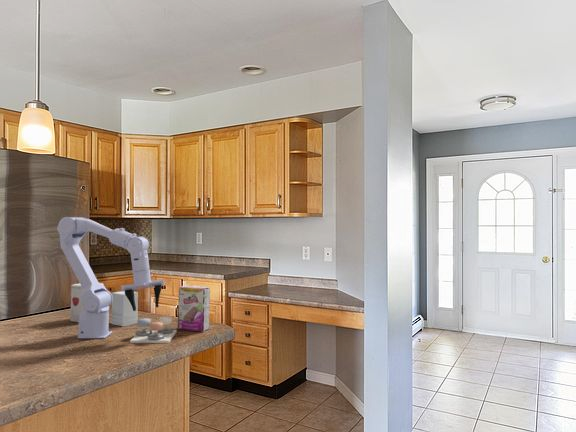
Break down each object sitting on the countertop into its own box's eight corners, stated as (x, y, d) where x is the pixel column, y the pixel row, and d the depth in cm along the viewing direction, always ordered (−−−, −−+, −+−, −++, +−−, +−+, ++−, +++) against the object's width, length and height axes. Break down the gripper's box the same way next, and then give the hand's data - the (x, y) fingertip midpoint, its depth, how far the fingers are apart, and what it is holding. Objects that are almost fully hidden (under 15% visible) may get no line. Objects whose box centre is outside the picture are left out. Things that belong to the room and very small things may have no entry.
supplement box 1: (69, 321, 173) (70, 284, 173) (85, 316, 181) (86, 281, 182) (87, 323, 170) (88, 285, 170) (103, 318, 179) (104, 282, 179)
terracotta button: (147, 330, 146) (148, 324, 146) (151, 327, 151) (151, 321, 151) (161, 330, 146) (161, 324, 146) (164, 327, 151) (164, 321, 151)
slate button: (135, 326, 151) (135, 321, 151) (139, 323, 155) (139, 318, 155) (148, 326, 151) (149, 321, 151) (152, 323, 156) (152, 318, 156)
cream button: (157, 324, 154) (157, 319, 154) (160, 321, 159) (160, 316, 159) (170, 324, 154) (170, 319, 154) (173, 321, 159) (173, 316, 159)
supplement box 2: (138, 323, 172) (138, 291, 172) (122, 326, 166) (123, 294, 166) (126, 320, 176) (127, 290, 176) (110, 324, 170) (111, 292, 170)
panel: (129, 342, 145) (129, 335, 145) (140, 332, 159) (140, 325, 159) (168, 342, 146) (169, 335, 146) (176, 332, 160) (176, 325, 160)
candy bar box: (177, 329, 163) (178, 286, 164) (183, 326, 168) (184, 284, 168) (203, 332, 160) (204, 288, 160) (209, 329, 165) (210, 286, 165)
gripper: (117, 274, 146) (122, 314, 146) (161, 268, 149) (166, 306, 149) (121, 273, 153) (125, 310, 152) (163, 266, 156) (167, 304, 155)
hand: (146, 308), depth 151 cm, fingers open, 7 cm apart
